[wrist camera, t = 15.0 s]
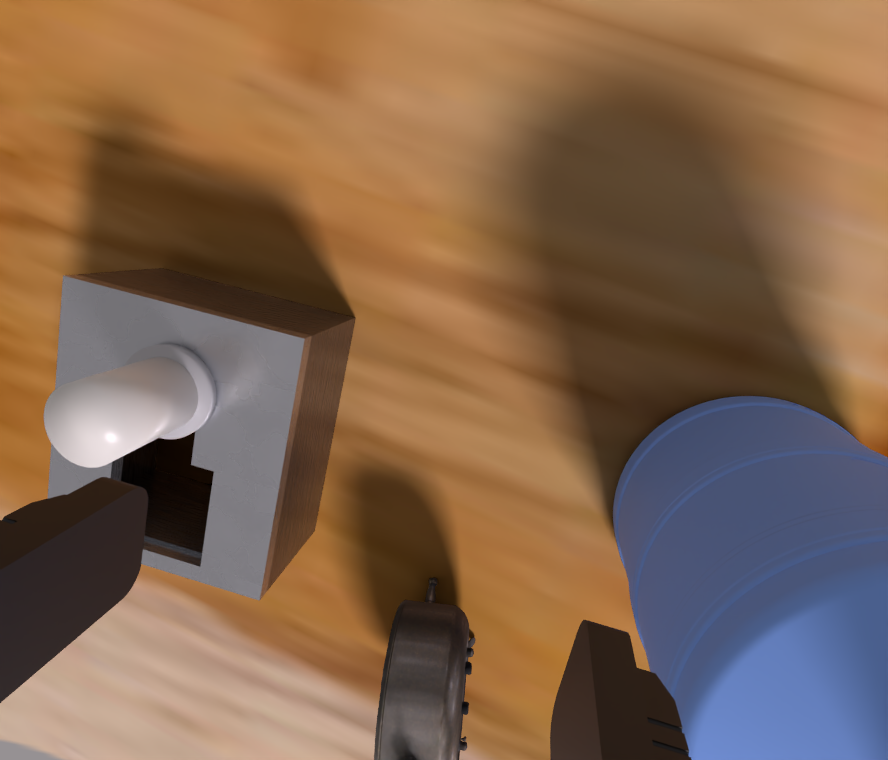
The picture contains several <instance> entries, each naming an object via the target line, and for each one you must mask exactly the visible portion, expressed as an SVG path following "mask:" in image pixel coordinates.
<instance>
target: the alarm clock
mask: <svg viewBox="0 0 888 760" xmlns="http://www.w3.org/2000/svg"><path fill="white" fill-rule="evenodd" d="M435 586H437V579H436V578H430V579H429V588H428V591H427V594H426V600H425V602H418V601H410V600H404V601H403V602H402V603H401V604H400V605H399V607H398V610H397V612H396V615H395V618H394V621H393V624H392V629H391V633H390V638H389V643H388V648H387V653H386V659H385V663H384V669H383V677H382V682H381V693H380V701H379V708H378V715H377V725H376V738H375V754H374V760H459V754H460V750H464V751H465V750H466V749H467V743H466V742H462V741H461V740H463V741H466V736H465V737H464V738H461V732H462V721H463V714H465V715H467V714H468V706H469V703H468V702H464V695H465V683H466V674H468V675H470V674H471V669H472V665H471V663H470V662H468V657H472V656H473V654H474V651H473V649H472V648H471V647H472V646H473V645H474V643H475V638H474V637H473V638H471V639H470V640H469V623H468V620H467V617H466V615H465V613H464V612H463V611H462V610H461V609H460V608H459V607H457V606H455V605H447V604H437V603H435V601H436V593H435Z"/></svg>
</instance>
